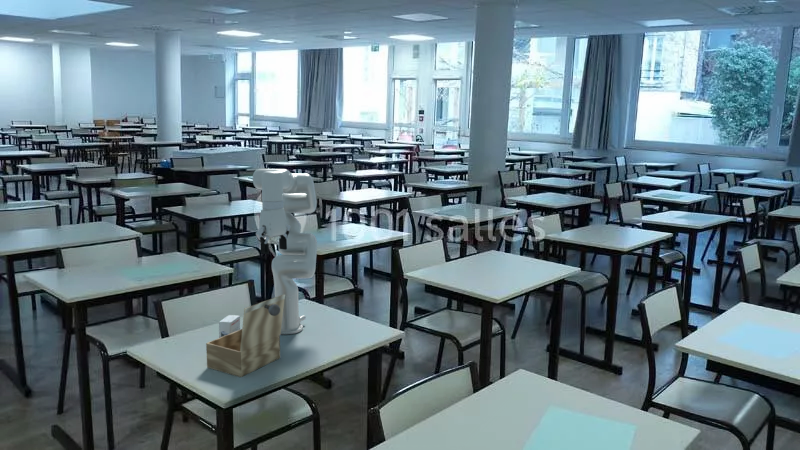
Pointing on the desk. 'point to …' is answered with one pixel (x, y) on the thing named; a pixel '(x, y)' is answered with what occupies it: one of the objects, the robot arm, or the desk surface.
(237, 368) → the wooden box
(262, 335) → the wooden box lid
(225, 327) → the ink box
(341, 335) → the desk surface
